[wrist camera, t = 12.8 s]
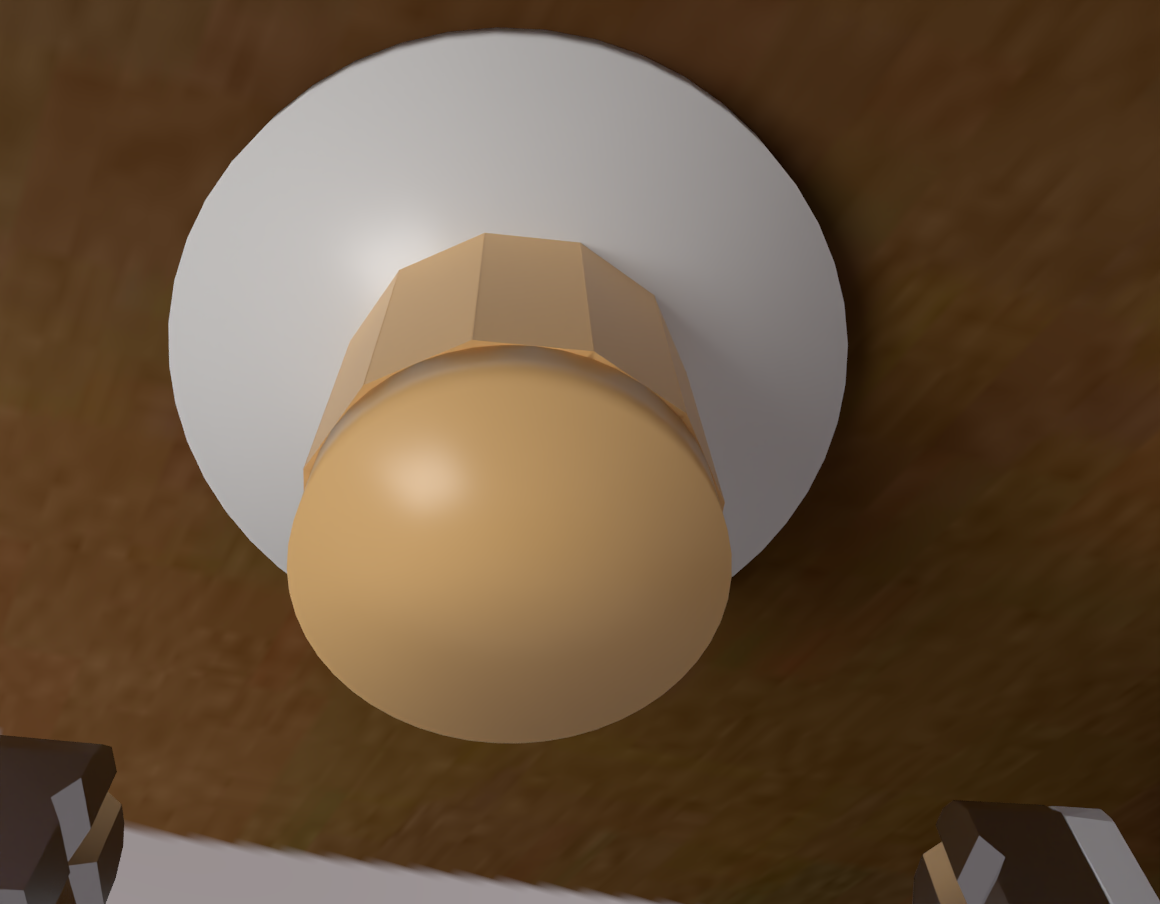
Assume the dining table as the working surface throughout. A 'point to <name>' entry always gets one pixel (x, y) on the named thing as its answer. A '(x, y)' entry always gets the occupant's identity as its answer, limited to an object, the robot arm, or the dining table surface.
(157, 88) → the dining table surface
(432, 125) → the post plate
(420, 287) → the cap
